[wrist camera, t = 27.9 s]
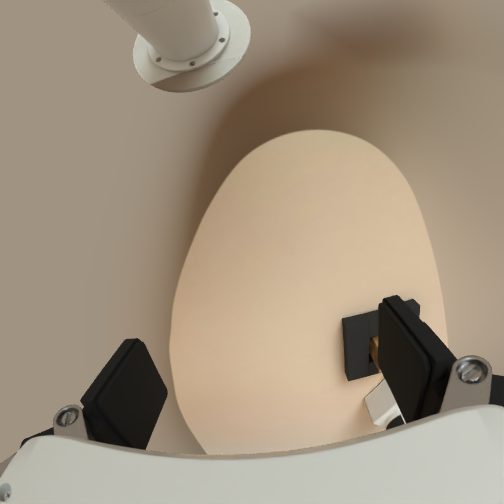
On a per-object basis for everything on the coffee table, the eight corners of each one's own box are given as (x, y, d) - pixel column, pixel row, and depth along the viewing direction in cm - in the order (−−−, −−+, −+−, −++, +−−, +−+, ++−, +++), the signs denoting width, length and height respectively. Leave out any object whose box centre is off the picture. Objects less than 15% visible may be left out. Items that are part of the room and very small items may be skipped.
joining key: (368, 330, 39) (380, 352, 33) (391, 324, 38) (405, 345, 32) (368, 350, 40) (379, 372, 34) (390, 344, 39) (403, 365, 34)
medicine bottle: (385, 406, 44) (403, 449, 32) (363, 398, 43) (379, 445, 31) (410, 382, 42) (433, 425, 30) (389, 372, 41) (412, 419, 30)
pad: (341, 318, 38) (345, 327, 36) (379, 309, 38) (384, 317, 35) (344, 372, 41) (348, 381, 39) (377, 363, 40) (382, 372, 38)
